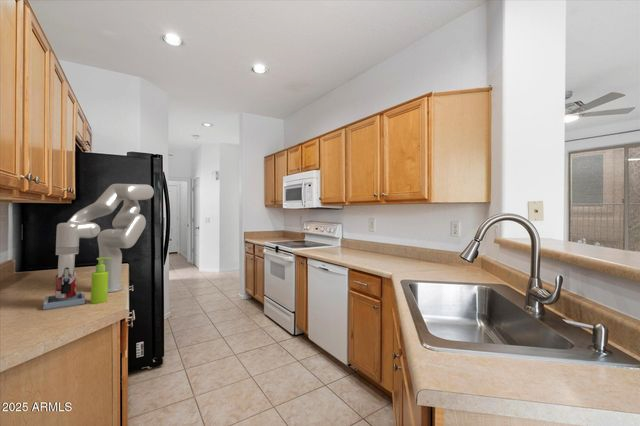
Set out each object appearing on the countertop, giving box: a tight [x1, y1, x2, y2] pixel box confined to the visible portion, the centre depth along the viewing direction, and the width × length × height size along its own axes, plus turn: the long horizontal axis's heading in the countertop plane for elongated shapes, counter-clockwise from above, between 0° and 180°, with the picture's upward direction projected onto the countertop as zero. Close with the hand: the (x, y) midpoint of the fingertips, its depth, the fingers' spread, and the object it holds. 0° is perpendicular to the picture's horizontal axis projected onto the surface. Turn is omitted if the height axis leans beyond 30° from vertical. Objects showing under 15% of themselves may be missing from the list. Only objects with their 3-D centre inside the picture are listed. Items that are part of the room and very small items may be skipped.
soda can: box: [54, 269, 77, 300], centre depth 124 cm, size 7×7×12 cm
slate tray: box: [42, 291, 86, 311], centre depth 124 cm, size 13×13×2 cm
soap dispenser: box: [90, 257, 112, 305], centre depth 128 cm, size 6×7×20 cm
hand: (65, 291), depth 124 cm, fingers closed on soda can, 6 cm apart
